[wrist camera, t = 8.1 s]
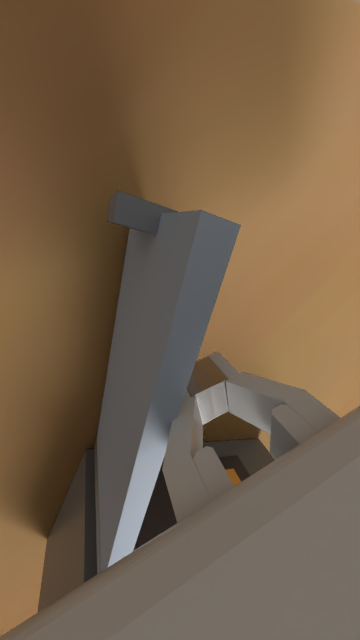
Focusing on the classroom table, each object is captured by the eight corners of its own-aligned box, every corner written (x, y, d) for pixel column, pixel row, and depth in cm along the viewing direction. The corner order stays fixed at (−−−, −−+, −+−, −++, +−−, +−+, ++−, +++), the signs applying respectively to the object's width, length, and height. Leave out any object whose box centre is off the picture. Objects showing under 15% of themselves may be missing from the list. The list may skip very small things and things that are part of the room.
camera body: (46, 540, 19) (18, 757, 11) (86, 447, 16) (84, 657, 8) (226, 494, 31) (272, 585, 23) (268, 436, 28) (336, 519, 20)
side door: (109, 446, 17) (122, 594, 10) (76, 452, 16) (67, 622, 9) (152, 218, 11) (252, 216, 4) (104, 203, 10) (139, 168, 3)
